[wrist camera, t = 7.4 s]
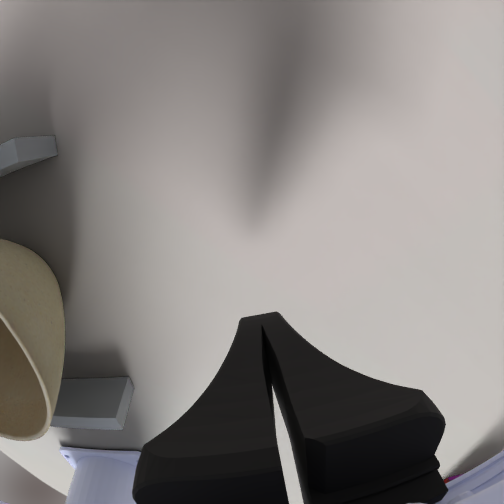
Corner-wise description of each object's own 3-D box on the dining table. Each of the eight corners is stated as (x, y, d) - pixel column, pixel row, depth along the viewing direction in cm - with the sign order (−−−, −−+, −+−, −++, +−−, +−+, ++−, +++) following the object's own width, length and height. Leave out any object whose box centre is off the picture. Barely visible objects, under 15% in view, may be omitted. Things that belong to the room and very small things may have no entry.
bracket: (134, 388, 18) (122, 429, 14) (11, 387, 17) (-8, 418, 14) (54, 135, 13) (14, 137, 9) (-67, 193, 12) (-102, 206, 9)
